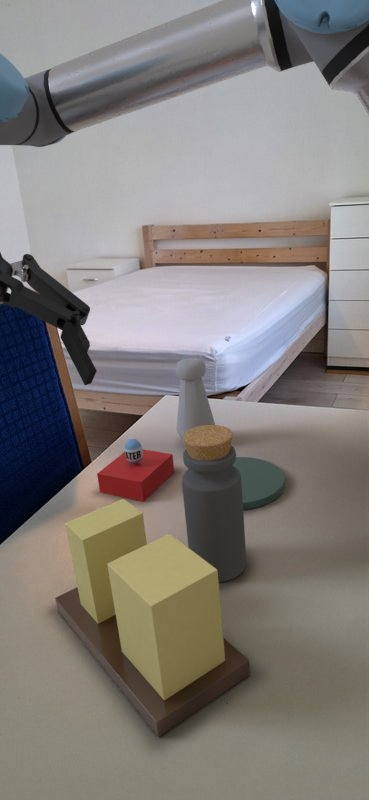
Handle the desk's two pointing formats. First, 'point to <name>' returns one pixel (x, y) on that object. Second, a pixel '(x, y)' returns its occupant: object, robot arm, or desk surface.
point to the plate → (259, 481)
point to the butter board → (133, 683)
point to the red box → (135, 472)
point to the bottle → (214, 500)
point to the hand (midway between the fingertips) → (30, 396)
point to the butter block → (168, 613)
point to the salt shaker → (192, 396)
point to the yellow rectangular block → (102, 552)
